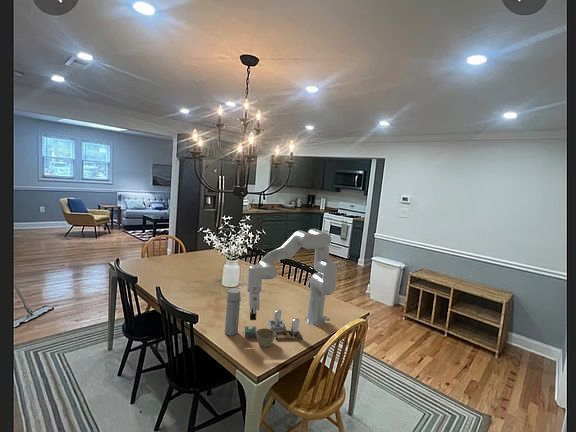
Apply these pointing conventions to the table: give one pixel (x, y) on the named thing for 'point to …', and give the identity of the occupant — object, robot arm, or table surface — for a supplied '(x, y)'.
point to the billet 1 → (277, 318)
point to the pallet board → (286, 335)
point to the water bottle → (232, 311)
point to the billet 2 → (294, 327)
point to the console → (250, 332)
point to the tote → (276, 327)
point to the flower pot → (265, 337)
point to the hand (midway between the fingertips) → (252, 319)
